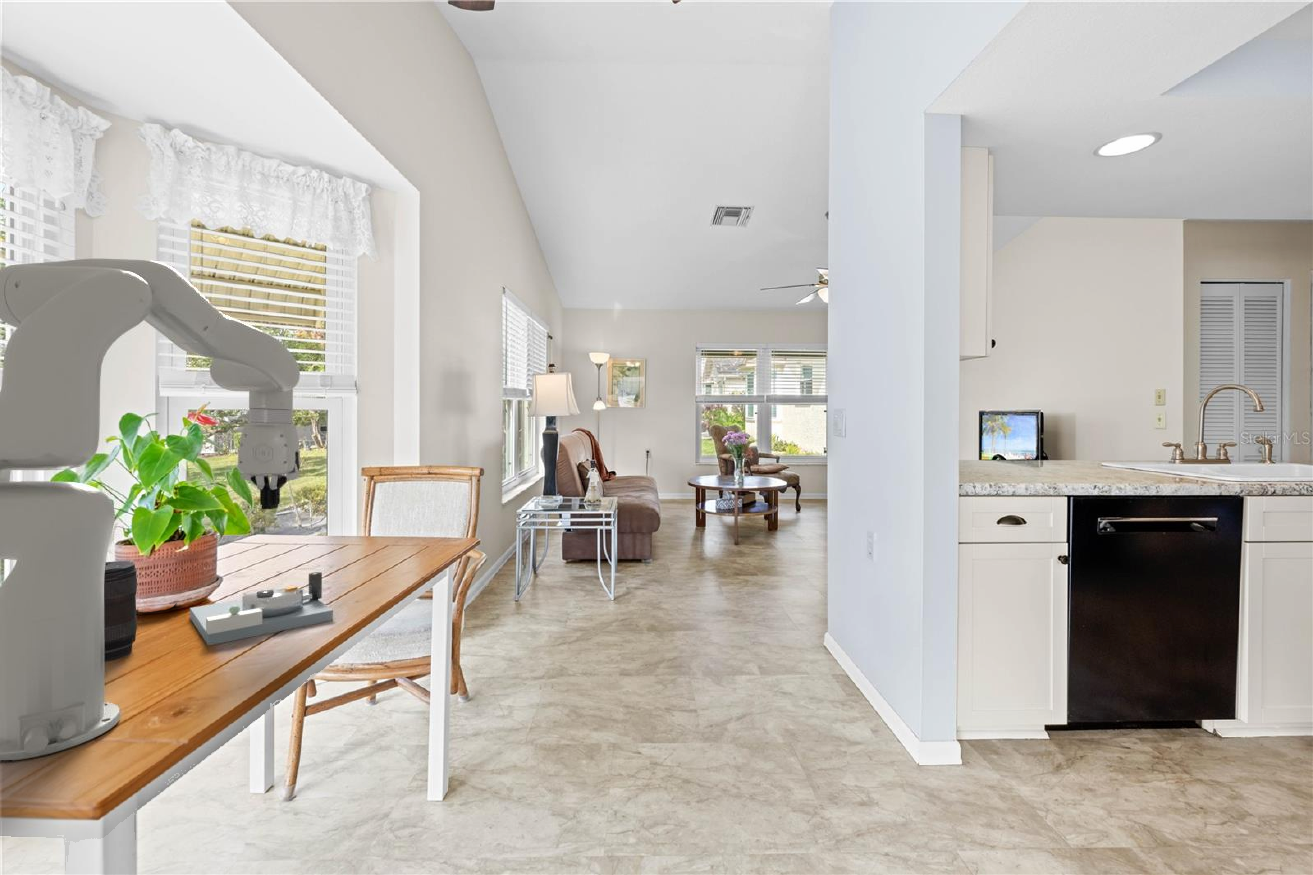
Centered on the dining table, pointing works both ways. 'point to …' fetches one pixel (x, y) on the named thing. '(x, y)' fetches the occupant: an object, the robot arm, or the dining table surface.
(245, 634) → the level board
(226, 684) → the dining table surface
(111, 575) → the camera lens
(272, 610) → the dial
